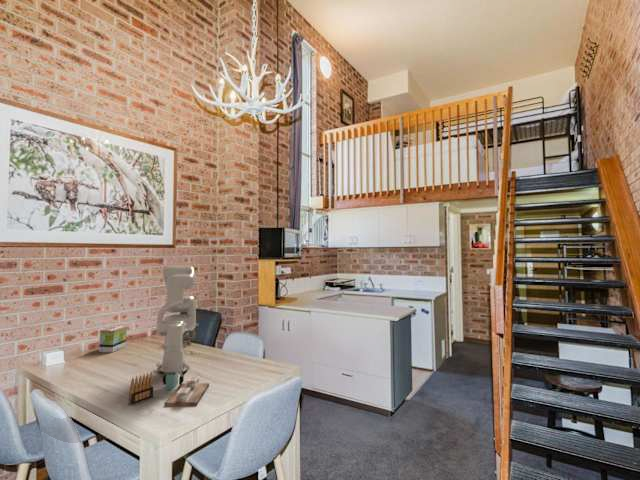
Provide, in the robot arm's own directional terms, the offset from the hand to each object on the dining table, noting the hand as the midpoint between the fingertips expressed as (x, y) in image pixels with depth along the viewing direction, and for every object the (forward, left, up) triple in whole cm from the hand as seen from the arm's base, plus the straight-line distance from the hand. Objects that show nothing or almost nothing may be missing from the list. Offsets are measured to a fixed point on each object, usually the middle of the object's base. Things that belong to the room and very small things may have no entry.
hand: (173, 383), depth 172 cm
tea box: (-64, +67, -2) cm, 93 cm away
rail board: (+11, -11, -2) cm, 15 cm away
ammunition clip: (-9, -16, -2) cm, 18 cm away
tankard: (-21, +84, -2) cm, 87 cm away
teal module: (-1, 0, -2) cm, 2 cm away
